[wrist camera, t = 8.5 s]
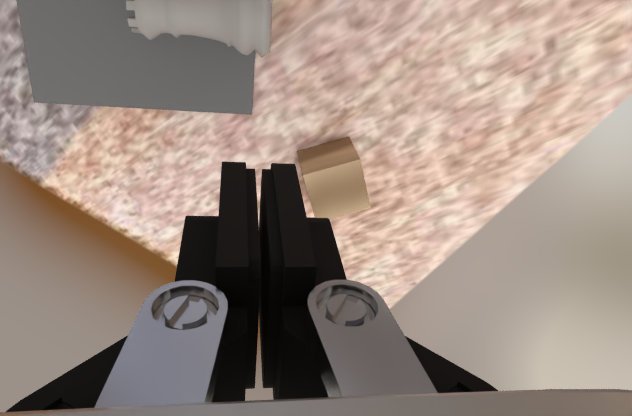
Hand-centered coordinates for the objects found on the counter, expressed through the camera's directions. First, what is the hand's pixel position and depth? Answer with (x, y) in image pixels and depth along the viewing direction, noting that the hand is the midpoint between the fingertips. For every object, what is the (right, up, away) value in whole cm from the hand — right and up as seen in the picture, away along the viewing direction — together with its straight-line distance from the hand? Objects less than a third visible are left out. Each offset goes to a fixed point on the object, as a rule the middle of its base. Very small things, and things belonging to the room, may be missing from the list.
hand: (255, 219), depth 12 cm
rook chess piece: (-1, +11, +18) cm, 22 cm away
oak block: (+2, +3, +27) cm, 27 cm away
